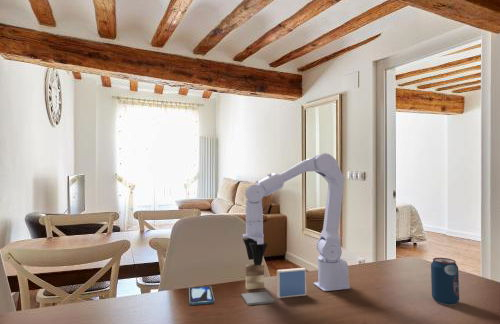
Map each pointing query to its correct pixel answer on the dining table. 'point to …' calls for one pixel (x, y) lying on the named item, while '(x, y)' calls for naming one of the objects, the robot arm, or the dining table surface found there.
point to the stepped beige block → (254, 276)
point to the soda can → (445, 281)
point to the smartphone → (201, 295)
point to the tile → (291, 282)
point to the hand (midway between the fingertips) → (254, 262)
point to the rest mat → (257, 298)
